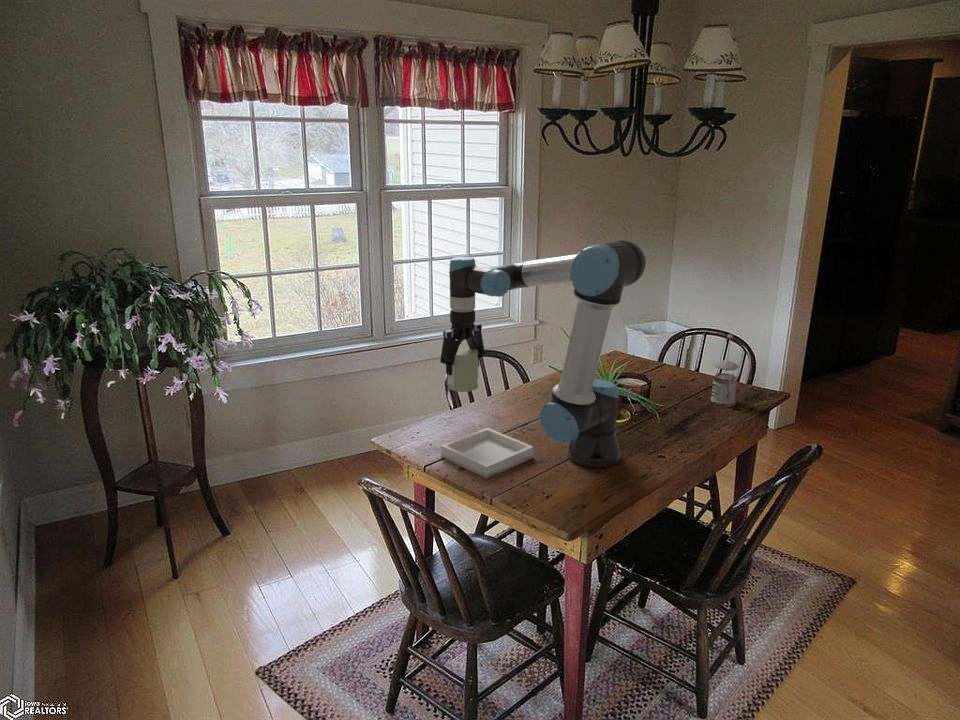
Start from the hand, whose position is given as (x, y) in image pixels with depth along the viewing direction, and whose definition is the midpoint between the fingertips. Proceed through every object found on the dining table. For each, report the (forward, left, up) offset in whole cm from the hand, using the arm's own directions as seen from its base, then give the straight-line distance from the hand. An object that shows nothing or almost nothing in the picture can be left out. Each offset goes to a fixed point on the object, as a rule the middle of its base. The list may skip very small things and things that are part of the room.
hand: (463, 380), depth 211 cm
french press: (-44, -84, -17) cm, 96 cm away
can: (0, 0, -2) cm, 2 cm away
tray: (-18, +7, -17) cm, 26 cm away
